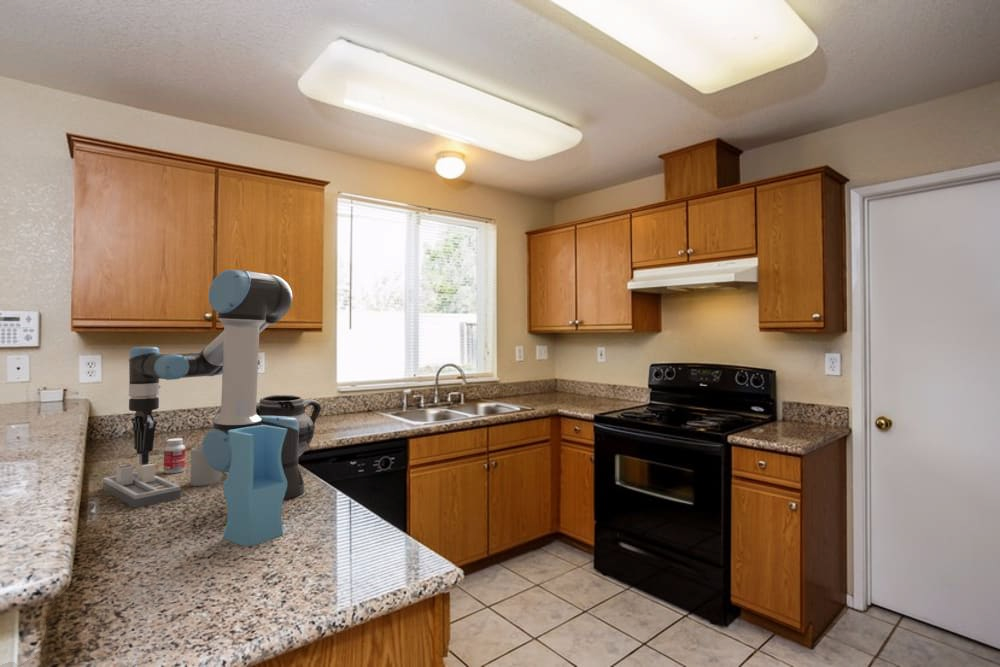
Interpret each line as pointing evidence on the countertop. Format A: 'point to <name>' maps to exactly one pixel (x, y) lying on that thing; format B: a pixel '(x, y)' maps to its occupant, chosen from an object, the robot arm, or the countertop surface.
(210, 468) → the mug
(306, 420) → the ceramic pot
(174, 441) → the pill bottle
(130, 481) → the fader
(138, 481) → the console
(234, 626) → the countertop surface
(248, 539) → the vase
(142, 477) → the fader
